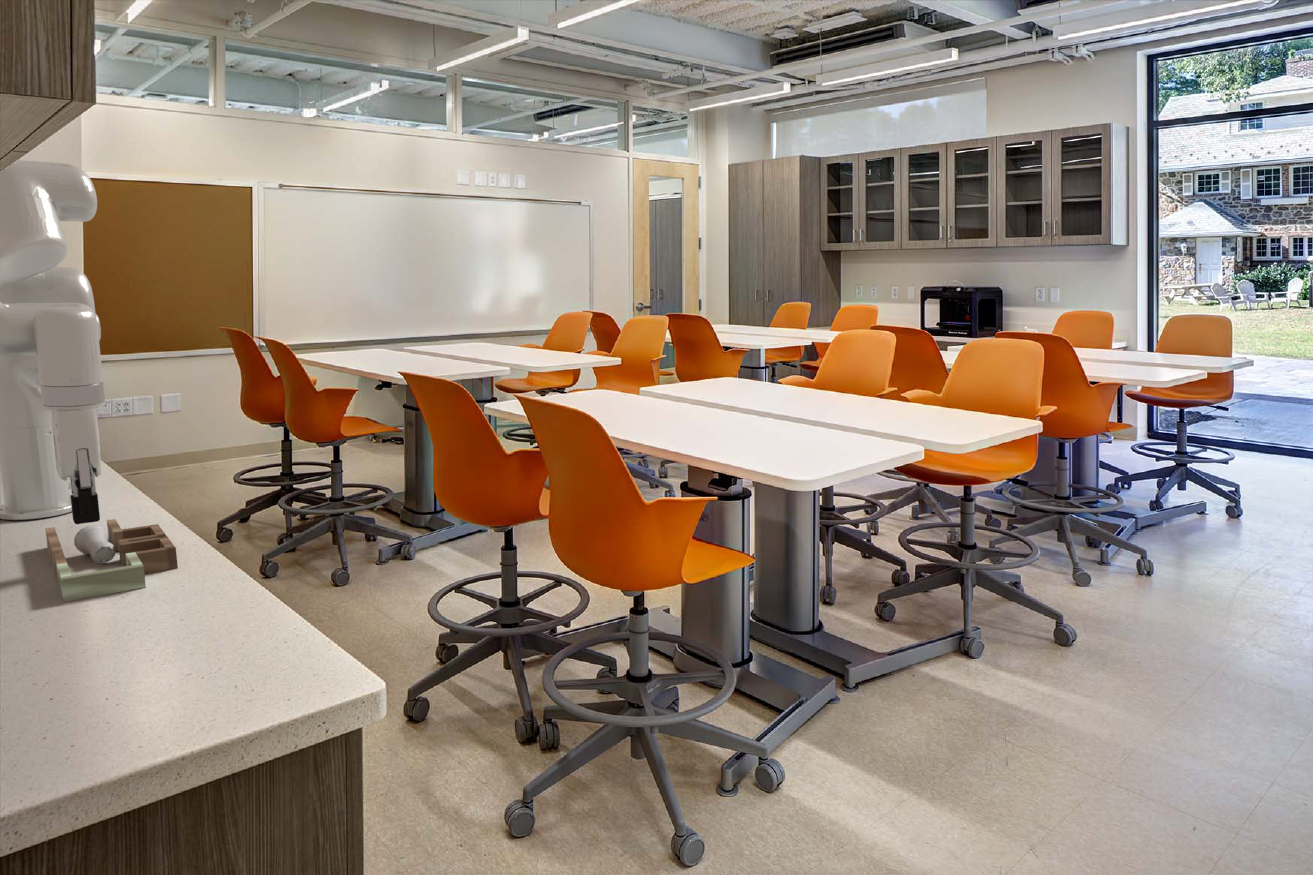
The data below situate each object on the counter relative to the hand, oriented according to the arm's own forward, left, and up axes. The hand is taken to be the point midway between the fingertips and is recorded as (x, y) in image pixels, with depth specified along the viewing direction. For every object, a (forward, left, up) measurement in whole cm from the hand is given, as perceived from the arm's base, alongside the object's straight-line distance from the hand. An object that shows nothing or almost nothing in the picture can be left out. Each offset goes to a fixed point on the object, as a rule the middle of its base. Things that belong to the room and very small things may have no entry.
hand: (86, 521), depth 134 cm
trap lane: (0, +3, -7) cm, 7 cm away
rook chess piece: (-6, -2, -4) cm, 8 cm away
